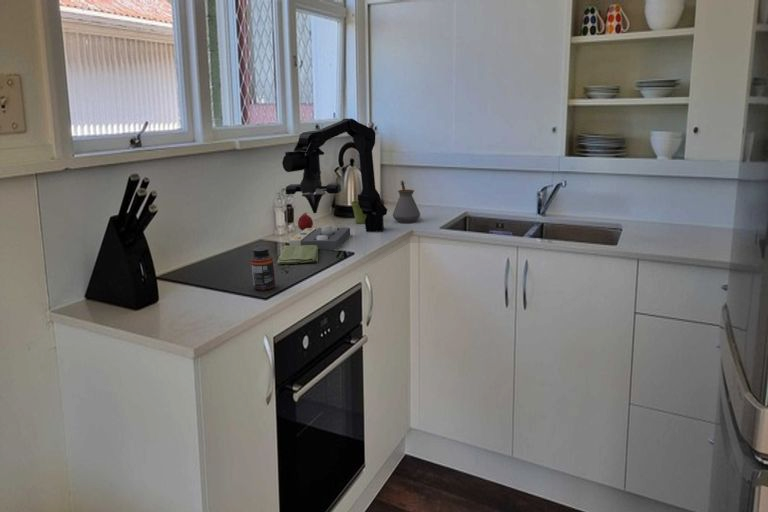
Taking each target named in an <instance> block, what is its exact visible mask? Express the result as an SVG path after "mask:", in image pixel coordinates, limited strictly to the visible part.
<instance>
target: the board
mask: <svg viewBox="0 0 768 512" xmlns="http://www.w3.org/2000/svg"><path fill="white" fill-rule="evenodd" d="M318 235H322V231H321V227H318V228H316V231H314V232H313V233H312V234H311V235H309V236H308V237H307V238H306V239H304V240H303V241H302V243H303V245H317V246H318V249H337V248H338V247H339V246H340V247H341V246H342V245H343V244H344V242H346V241H347V239H349V237H351V227H337V231H333V235H332V236H328V240H316V237H317V236H318ZM341 244H342V245H341ZM340 247H339V248H340ZM339 248H338V249H339ZM338 249H337V250H338Z"/></svg>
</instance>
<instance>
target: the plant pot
mask: <svg viewBox="0 0 768 512" xmlns="http://www.w3.org/2000/svg"><path fill="white" fill-rule="evenodd" d="M350 204H351V208H352V210H353V214H354V215H353V216H354V220H355V221H354V222H355V223H356V224H360V225H362V224H364V225H365V219H366V215H367V214H363V212H362V209H361V208H360V205H358V200H353V201H350Z"/></svg>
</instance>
